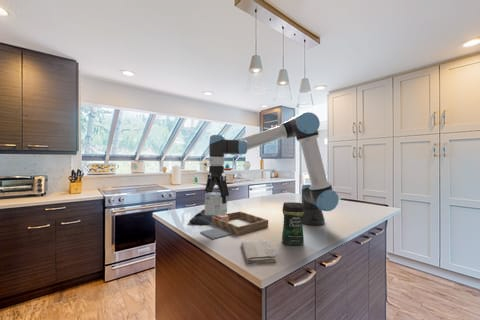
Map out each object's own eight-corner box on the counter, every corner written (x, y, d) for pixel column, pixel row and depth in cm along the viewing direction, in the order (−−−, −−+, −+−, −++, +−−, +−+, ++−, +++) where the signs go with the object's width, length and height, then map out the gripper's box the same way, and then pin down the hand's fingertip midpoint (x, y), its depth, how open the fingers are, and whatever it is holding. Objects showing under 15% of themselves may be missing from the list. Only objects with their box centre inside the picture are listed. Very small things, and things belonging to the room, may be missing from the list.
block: (228, 224, 128) (228, 215, 128) (221, 225, 125) (221, 217, 125) (224, 222, 132) (224, 214, 132) (217, 223, 129) (217, 215, 129)
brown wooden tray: (268, 227, 123) (268, 219, 123) (238, 235, 109) (238, 227, 109) (240, 217, 143) (240, 211, 143) (211, 223, 129) (211, 216, 129)
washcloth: (247, 266, 79) (247, 257, 79) (240, 246, 97) (240, 239, 97) (278, 264, 81) (278, 255, 81) (266, 245, 99) (266, 238, 98)
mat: (232, 234, 111) (232, 233, 111) (212, 239, 103) (212, 238, 103) (219, 228, 120) (219, 227, 120) (200, 233, 113) (200, 231, 113)
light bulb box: (227, 212, 115) (227, 192, 115) (225, 216, 108) (225, 194, 108) (207, 212, 116) (207, 191, 116) (204, 215, 109) (204, 193, 109)
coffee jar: (283, 246, 96) (283, 204, 96) (280, 239, 104) (280, 200, 104) (305, 246, 96) (305, 204, 96) (301, 239, 104) (301, 200, 103)
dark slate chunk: (184, 225, 128) (184, 217, 127) (197, 215, 149) (197, 208, 149) (210, 226, 125) (210, 218, 125) (218, 216, 147) (218, 209, 147)
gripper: (198, 164, 119) (198, 204, 119) (223, 166, 100) (223, 213, 100) (210, 164, 123) (210, 202, 123) (236, 166, 105) (236, 211, 105)
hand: (216, 207), depth 112 cm, fingers closed on light bulb box, 12 cm apart
